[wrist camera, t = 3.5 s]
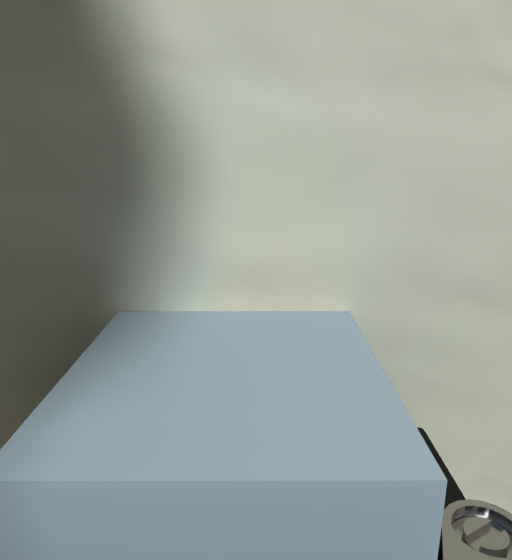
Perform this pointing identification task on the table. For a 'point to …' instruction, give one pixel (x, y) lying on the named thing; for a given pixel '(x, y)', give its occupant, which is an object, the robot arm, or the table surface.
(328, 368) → the blue block
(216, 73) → the table surface
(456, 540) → the robot arm
